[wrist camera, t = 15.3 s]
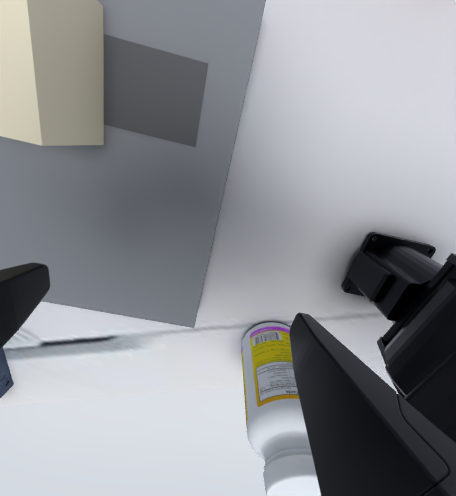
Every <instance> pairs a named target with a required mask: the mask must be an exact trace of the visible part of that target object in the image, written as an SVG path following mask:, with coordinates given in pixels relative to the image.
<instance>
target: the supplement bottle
mask: <svg viewBox="0 0 456 496" xmlns="http://www.w3.org/2000/svg"><path fill="white" fill-rule="evenodd" d="M289 331H290V327H288V326H286V325H283V324H280V323H274V322H269V323H263V324H259V325H257V326H255V327H253V328H252V329H250V330H249V331H248V332H247V333H246V335H245V336H244V338H243V340H242V345H241V350H242V366H243V380H244V395H245V409H246V425H247V435H248V440H249V443H250V445H251V447H252V449H253V450H254V451H255V453H256V454H257V455H258V456H259V457H261V458H262V459H264V460H265V466H264V482H265V490H266V495H267V496H321V493H320V488H319V484H318V480H317V475H316V471H315V466H314V462H313V457H312V453H311V448H310V444H309V439H308V435H307V430H306V426H305V422H304V417H303V413H302V408H301V404H300V399H299V395H298V390H297V386H296V381H295V376H294V370H293V362H292V353H291V345H290V336H289Z"/></svg>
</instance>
